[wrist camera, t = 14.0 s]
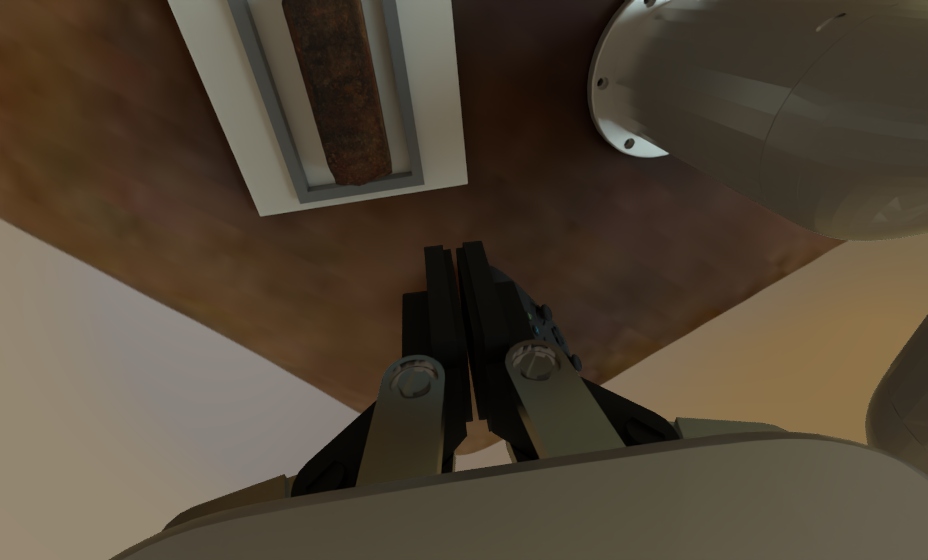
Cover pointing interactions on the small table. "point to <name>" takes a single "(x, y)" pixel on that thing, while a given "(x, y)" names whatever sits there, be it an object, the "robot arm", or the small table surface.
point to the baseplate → (289, 111)
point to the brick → (341, 86)
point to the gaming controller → (540, 320)
